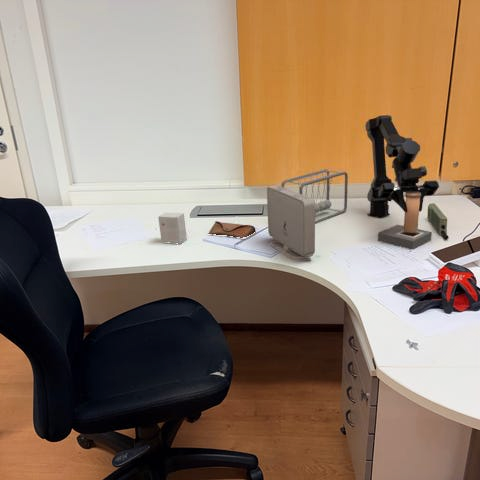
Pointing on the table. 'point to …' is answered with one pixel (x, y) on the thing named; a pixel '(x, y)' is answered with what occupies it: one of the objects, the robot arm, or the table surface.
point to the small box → (172, 227)
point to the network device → (291, 221)
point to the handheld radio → (437, 220)
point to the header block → (404, 237)
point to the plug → (412, 211)
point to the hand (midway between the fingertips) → (413, 211)
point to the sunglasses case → (232, 229)
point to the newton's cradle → (326, 203)
